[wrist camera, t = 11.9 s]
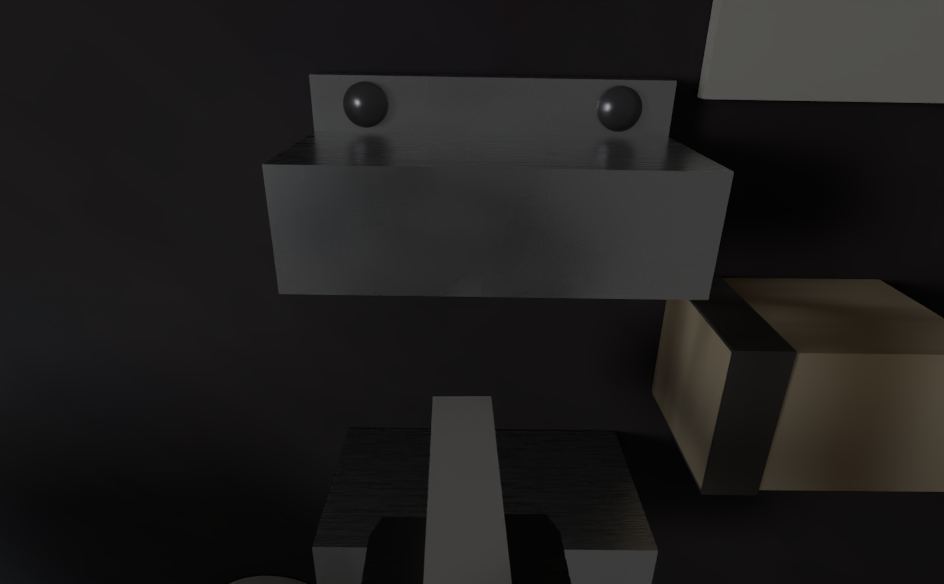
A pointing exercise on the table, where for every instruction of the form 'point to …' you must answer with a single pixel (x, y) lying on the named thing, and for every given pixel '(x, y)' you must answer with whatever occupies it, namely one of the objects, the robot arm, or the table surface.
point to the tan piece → (804, 386)
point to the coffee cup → (267, 580)
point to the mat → (825, 51)
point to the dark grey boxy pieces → (494, 263)
